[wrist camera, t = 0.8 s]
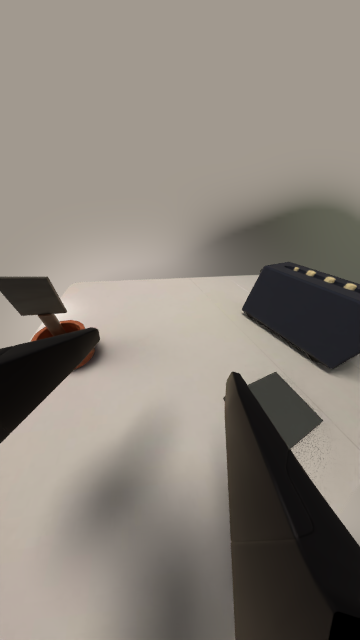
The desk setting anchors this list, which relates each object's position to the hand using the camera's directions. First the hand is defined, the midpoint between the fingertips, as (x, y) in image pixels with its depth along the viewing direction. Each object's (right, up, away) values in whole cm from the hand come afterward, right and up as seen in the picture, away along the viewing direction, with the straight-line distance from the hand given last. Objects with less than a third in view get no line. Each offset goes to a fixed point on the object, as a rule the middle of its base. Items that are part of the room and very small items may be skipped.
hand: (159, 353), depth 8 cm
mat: (+15, -12, +12) cm, 23 cm away
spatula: (-18, -4, +15) cm, 24 cm away
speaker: (+30, -1, +28) cm, 41 cm away
